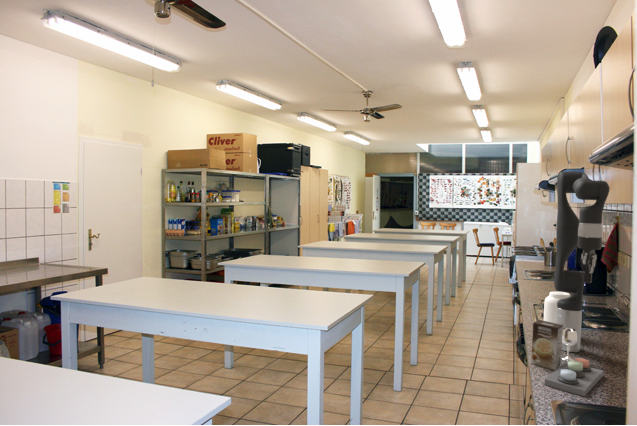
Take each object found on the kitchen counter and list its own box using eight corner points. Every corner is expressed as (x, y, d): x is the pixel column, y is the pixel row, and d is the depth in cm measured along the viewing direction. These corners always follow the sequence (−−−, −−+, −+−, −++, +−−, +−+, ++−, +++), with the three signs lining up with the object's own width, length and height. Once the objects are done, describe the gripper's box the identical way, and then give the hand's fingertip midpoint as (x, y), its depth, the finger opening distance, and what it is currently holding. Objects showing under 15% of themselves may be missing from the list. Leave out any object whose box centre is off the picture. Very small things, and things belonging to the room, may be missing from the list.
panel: (566, 366, 170) (566, 359, 170) (603, 376, 162) (603, 368, 161) (544, 384, 153) (544, 376, 153) (584, 396, 144) (584, 387, 144)
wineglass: (578, 362, 174) (579, 332, 174) (562, 361, 175) (563, 331, 175) (573, 357, 180) (574, 327, 179) (557, 356, 181) (558, 326, 181)
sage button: (569, 365, 160) (570, 359, 160) (584, 368, 157) (584, 363, 157) (565, 368, 157) (566, 362, 157) (580, 372, 154) (580, 366, 154)
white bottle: (573, 340, 201) (575, 296, 200) (542, 336, 207) (544, 293, 206) (573, 333, 212) (574, 291, 211) (543, 329, 218) (545, 288, 217)
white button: (562, 373, 155) (563, 368, 154) (577, 377, 151) (577, 372, 151) (558, 377, 151) (558, 371, 151) (573, 381, 148) (573, 375, 148)
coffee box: (530, 363, 172) (531, 322, 172) (536, 359, 177) (538, 319, 176) (555, 370, 166) (557, 327, 165) (561, 366, 170) (563, 324, 170)
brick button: (576, 362, 166) (576, 357, 166) (590, 365, 163) (590, 360, 163) (572, 365, 163) (572, 360, 163) (586, 369, 159) (587, 363, 159)
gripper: (583, 233, 170) (581, 279, 171) (572, 235, 161) (570, 283, 162) (606, 235, 165) (604, 282, 166) (596, 237, 156) (594, 287, 156)
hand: (587, 282), depth 164 cm, fingers closed
